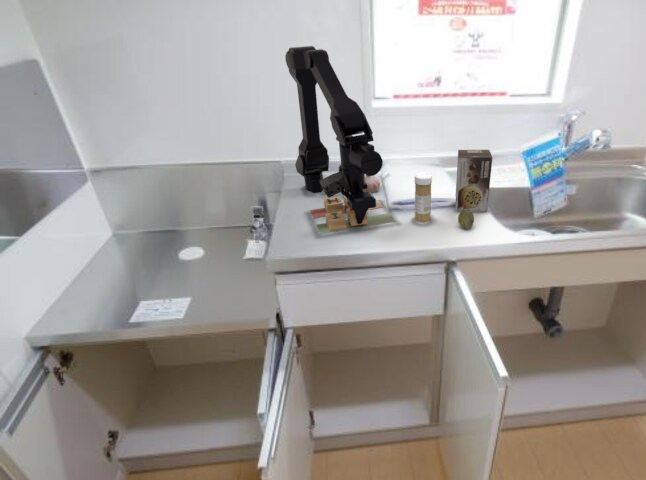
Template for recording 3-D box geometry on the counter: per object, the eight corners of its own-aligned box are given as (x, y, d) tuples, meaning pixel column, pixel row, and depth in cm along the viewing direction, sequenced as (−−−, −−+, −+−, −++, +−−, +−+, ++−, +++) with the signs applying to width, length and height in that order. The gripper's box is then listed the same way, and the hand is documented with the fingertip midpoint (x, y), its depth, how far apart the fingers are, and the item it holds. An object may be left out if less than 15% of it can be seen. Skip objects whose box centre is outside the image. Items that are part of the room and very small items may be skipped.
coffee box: (484, 202, 135) (490, 149, 125) (487, 212, 130) (493, 157, 120) (454, 202, 135) (457, 148, 124) (456, 212, 130) (460, 156, 119)
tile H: (324, 208, 128) (323, 198, 126) (340, 206, 129) (339, 196, 127) (328, 215, 125) (326, 205, 123) (343, 212, 126) (342, 202, 124)
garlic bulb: (371, 184, 144) (370, 160, 139) (386, 191, 140) (385, 166, 135) (353, 191, 140) (350, 166, 135) (368, 198, 136) (366, 172, 131)
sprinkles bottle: (427, 217, 127) (428, 170, 118) (433, 224, 124) (434, 177, 115) (412, 219, 126) (412, 172, 117) (417, 226, 122) (418, 179, 114)
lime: (473, 223, 124) (474, 206, 121) (473, 231, 121) (475, 214, 117) (457, 222, 124) (458, 206, 121) (457, 230, 121) (458, 213, 118)
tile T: (347, 219, 122) (346, 208, 120) (363, 216, 123) (362, 206, 121) (351, 226, 119) (350, 215, 117) (367, 223, 120) (366, 213, 118)
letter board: (308, 213, 127) (307, 209, 127) (381, 202, 134) (381, 199, 133) (318, 237, 117) (318, 234, 116) (397, 224, 123) (397, 220, 122)
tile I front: (326, 223, 121) (325, 213, 119) (342, 221, 122) (341, 210, 120) (330, 231, 117) (328, 220, 115) (346, 228, 119) (345, 217, 117)
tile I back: (344, 205, 130) (343, 195, 128) (359, 203, 131) (358, 193, 129) (348, 212, 126) (347, 202, 124) (363, 209, 128) (362, 199, 126)
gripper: (313, 154, 115) (320, 210, 125) (328, 180, 102) (335, 240, 112) (354, 149, 119) (359, 204, 129) (375, 174, 105) (378, 233, 115)
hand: (357, 219), depth 121 cm, fingers closed on tile T, 4 cm apart
